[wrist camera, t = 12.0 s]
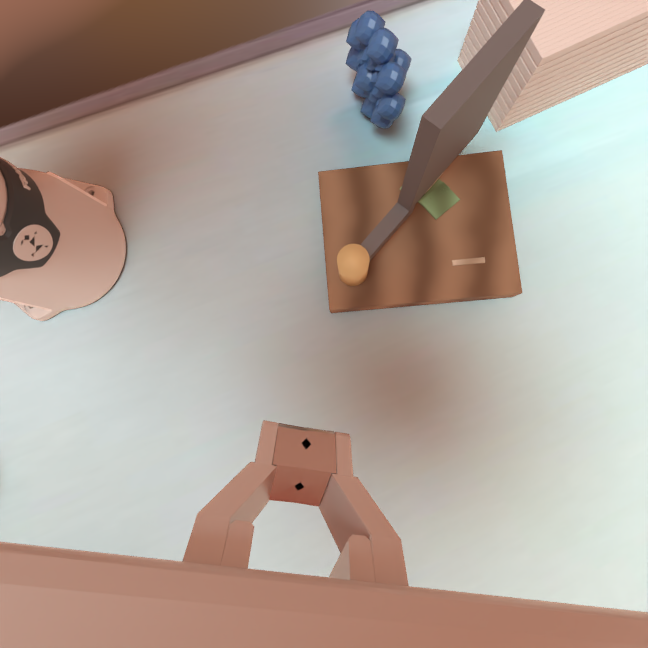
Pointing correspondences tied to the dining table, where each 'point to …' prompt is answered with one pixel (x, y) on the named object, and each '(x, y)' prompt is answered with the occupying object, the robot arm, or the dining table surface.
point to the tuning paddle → (447, 131)
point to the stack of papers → (561, 51)
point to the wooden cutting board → (423, 235)
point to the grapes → (377, 68)
